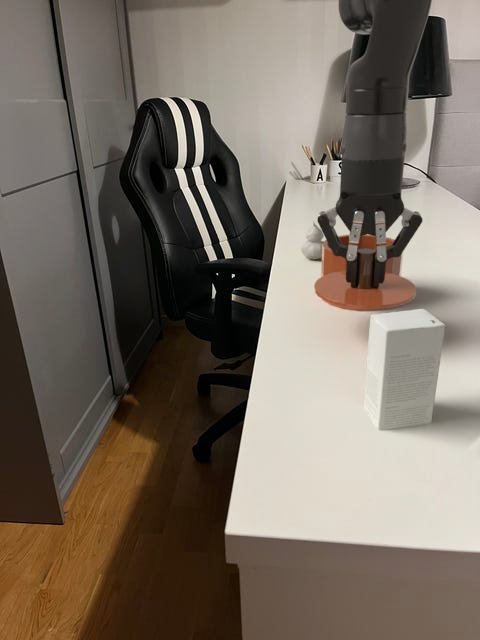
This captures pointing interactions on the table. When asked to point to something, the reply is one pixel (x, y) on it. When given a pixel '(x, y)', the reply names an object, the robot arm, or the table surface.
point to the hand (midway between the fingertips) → (364, 284)
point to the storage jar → (365, 242)
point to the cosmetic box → (402, 368)
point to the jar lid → (365, 287)
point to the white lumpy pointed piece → (313, 243)
